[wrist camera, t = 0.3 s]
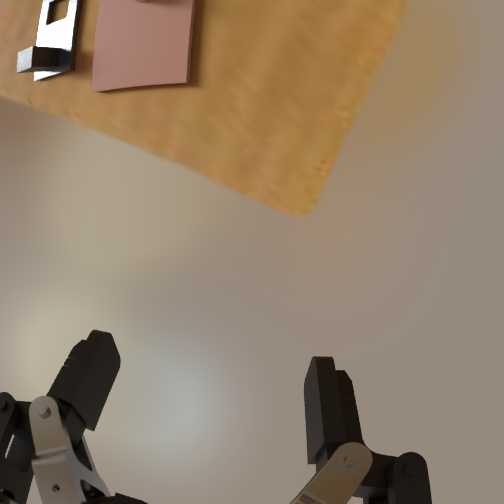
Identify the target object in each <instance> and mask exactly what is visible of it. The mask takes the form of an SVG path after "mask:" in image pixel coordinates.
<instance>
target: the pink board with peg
mask: <svg viewBox="0 0 504 504" xmlns="http://www.w3.org/2000/svg"><path fill="white" fill-rule="evenodd" d="M195 7H196V0H100V3H99V10H98V17H97V25H96V33H95V44H94V56H93V75H92V92H101V91H107V90H114V89H121V88H130V87H139V86H150V85H163V84H182V83H189V81H190V64H191V50H192V38H193V26H194V16H195Z"/></svg>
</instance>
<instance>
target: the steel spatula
mask: <svg viewBox="0 0 504 504" xmlns="http://www.w3.org/2000/svg"><path fill="white" fill-rule="evenodd" d="M58 1H61V0H43V5H42V11H41V16H40V23H39V30H38V37H37V46H32V47H30V48H27V49H25V50H23V51H21V52H19V53H18V62H17V73H25V72H35V75H34V81H38V80H42V79H45V78H48V77H52V76H55V75H58V74H62V73H65V72H69V71H73V70H74V69H75V53H76V42H77V32H78V24H79V17H80V10H81V4H82V0H70V2H69V8H68V14H67V18H65V19H62V20H59V21H57V22H54V23H52V24H51V17H52V11H53V5H54V3H56V2H58Z"/></svg>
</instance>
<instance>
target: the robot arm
mask: <svg viewBox="0 0 504 504" xmlns="http://www.w3.org/2000/svg"><path fill="white" fill-rule="evenodd" d="M119 368H120V355H119V352H118V350H117V347H116V345H115V342H114V339H113V337H112V334H111V333H108V332H103V331H99V330H93V331H92V332H91V333H90V334H89V336H88V338H87V340H83V339H82V340H81V341H80V342H79V343H78V344H77V345H75V346H74V347H73V349H72V350H71V352H70V354H69V356H68V358H67V359H66V361H65V363H64V366H62V368H61V370H60V372H59V374H58V375H57V377H56V379H55V381H54V383H53V384H52V386H51V388H50V390H49V392H48V394H47V395H46V396H40V397H38V398H36V399H35V400H34V401H33V402H24V401H16V400H15V399H14V398H13V397H12V396H11V395H10V394H9V393H7V392H2V393H0V504H26V501H27V497H28V493H29V489H30V486H31V482H32V479H33V475H34V476H35V479H36V483H37V486H38V490H39V493H40V496H41V499H42V502H43V504H147V503H146V502H144V501H142V500H138V499H135V498H131V497H128V496H125V495H122V494H119V493H116V494H115V496H111V495H110V493H109V491H108V489H107V487H106V485H105V483H104V482H103V480H102V479H101V478H100V476H99V475H98V473H97V471H96V468H95V465H94V463H93V460H92V457H91V455H90V452H89V449H88V446H87V443H86V440H85V437H84V435H83V433H84V430H85V428H86V429H89V430H92V431H94V430H95V428H96V425H97V422H98V420H99V417H100V415H101V412H102V410H103V407H104V405H105V402H106V400H107V397H108V395H109V392H110V390H111V388H112V385H113V383H114V381H115V378H116V376H117V373H118V371H119ZM304 401H305V417H306V435H307V456H308V464H316V474H315V475H314V476H313V477H312V478H311V479H310V481H309V482H308V483H307V484H306V485H305V487H304V488H303V489H302V490H301V491H300V492H299V494H298V495H297V496H296V497H295V498H294V499H293V500H292V502H291V503H290V504H347V502H348V501H349V500H350V498H351V497H352V496H354V497H360V498H363V504H432V500H431V490H430V483H429V477H428V469H427V464H426V461H425V459H424V458H423V457H422V456H421V455H419V454H417V453H414V452H407V453H404V454H402V455H401V456H399V457H394V456H387V455H382V454H377V453H375V452H373V451H371V450H370V449H369V448H368V447H367V446H366V445H365V443H364V441H363V439H362V434H361V427H360V422H359V416H358V410H357V405H356V400H355V395H354V389H353V384H352V381H351V379H350V378H349V376H348V375H347V373H346V372H345V371H344V370H335V364H334V359H333V357H315V356H314V357H313V358H312V360H311V363H310V366H309V369H308V372H307V375H306V378H305V382H304ZM12 434H13V435H15V436H14V438H13V441H12V444H11V447H10V449H9V452H8V455H7V458H6V459H5V453H6V450H7V448H8V445H9V442H10V440H11V437H12Z"/></svg>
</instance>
